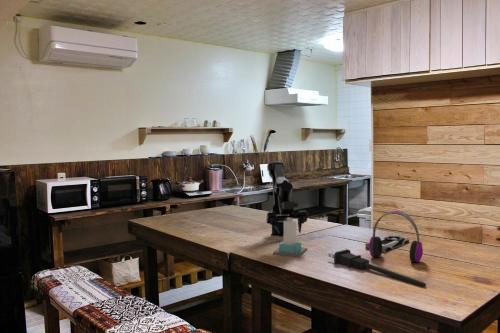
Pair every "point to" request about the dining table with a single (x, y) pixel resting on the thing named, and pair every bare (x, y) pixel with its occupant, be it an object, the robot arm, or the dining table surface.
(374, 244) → the headphones
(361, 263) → the electrical plug
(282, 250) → the holder board
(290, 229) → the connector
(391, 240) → the graphics card
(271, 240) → the dining table surface
